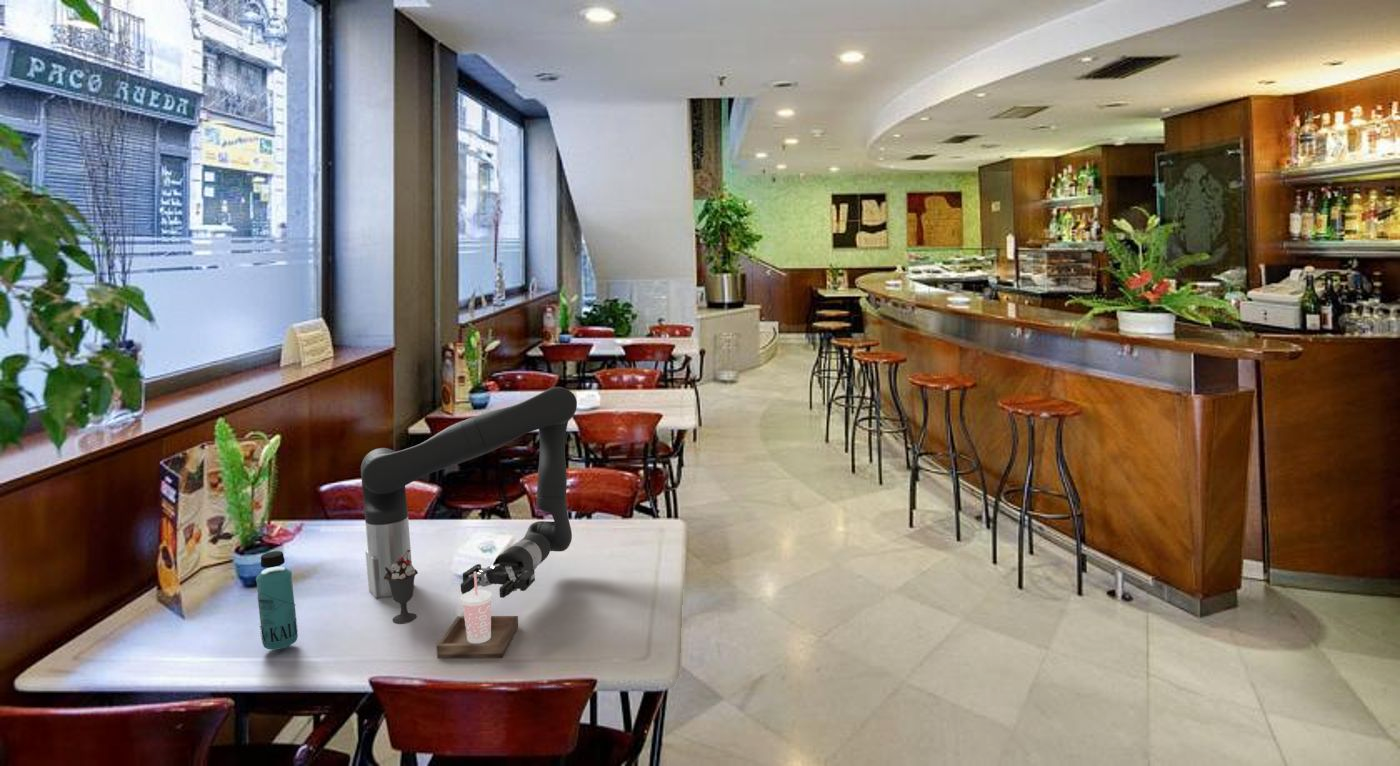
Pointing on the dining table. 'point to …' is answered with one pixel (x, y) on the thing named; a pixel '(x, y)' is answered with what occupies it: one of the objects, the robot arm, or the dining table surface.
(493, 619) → the walnut tray
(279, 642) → the beverage bottle
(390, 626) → the dining table surface
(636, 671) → the dining table surface
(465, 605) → the beverage cup
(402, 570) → the sundae
